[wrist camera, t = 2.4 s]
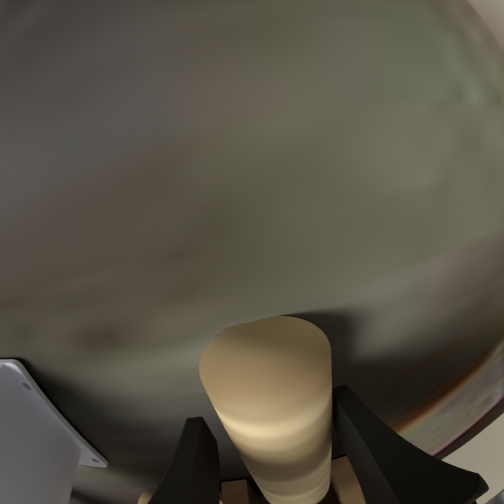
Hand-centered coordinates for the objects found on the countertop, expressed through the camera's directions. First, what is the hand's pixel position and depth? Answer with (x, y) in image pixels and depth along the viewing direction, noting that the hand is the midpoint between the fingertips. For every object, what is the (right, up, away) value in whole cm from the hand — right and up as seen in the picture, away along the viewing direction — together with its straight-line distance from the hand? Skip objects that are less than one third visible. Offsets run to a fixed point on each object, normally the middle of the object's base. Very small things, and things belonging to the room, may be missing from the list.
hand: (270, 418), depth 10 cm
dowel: (0, -1, +2) cm, 2 cm away
